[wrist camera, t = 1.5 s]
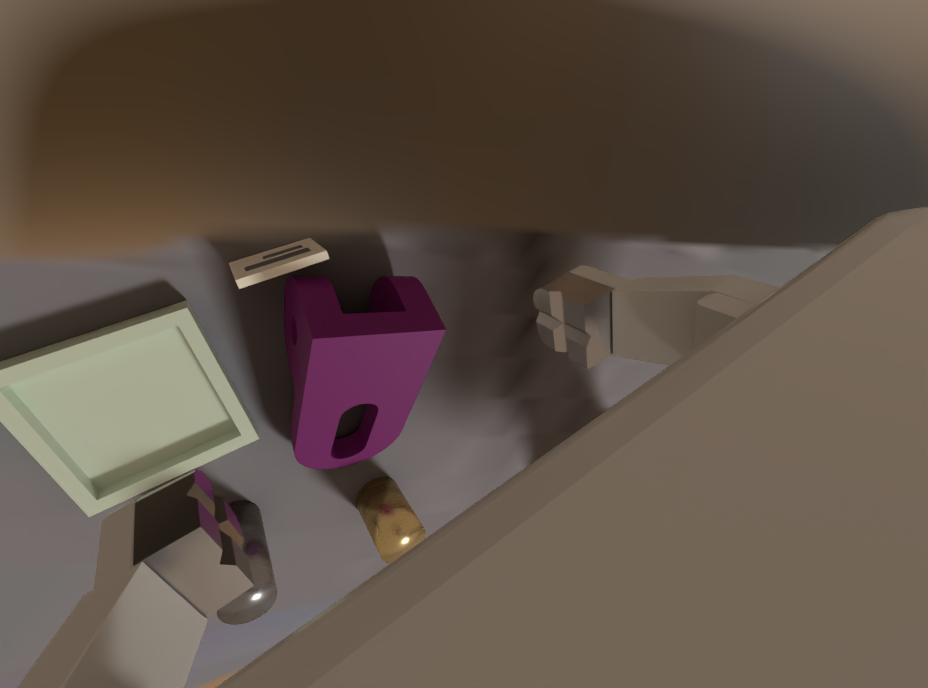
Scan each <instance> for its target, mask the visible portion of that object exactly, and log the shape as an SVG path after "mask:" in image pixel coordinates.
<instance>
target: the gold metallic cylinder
mask: <svg viewBox="0 0 928 688" xmlns="http://www.w3.org/2000/svg"><path fill="white" fill-rule="evenodd" d="M356 505H357V508H358V510H359V512H360V514H361V516H362V518H363V520H364V523H365V525H366V527H367V529H368V531H369V533H370V535H371V537H372V539H373V541H374V543H375V546H376V548H377V550H378V552H379V554H380V556H381V558H382V559H383V560H384V561H385V562H387V563H392V562H393V561H395V560H396V559H398V558H399V557H401V556H402V555H403V554H405V553H406V552H408V551H409V550H410V549H412V548H413V547H415V546H416V545H417V544H419V543H420V542H422V541H423V540H424V539H425V535H426V532H425V529H424V527H423V525H422V524H421V522H420V521H419V519H418V517H417V516H416V514H415V513H414V511H413V509H412V508H411V506H410V505H409V503H408V501H407V500H406V498H405V497H404V495H403V493H402V492H401V490H400V489H399V487H398V485H397V484H396V482H395V481H394V480H392V479H390V478H385V477H383V478H377V479H375V480H372V481H371V482H369V483H368V484H366V485H365V486H364V487H363V488H362V489H361V490H360V492H359V494H358V496H357V499H356Z"/></svg>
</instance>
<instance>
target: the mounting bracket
mask: <svg viewBox="0 0 928 688" xmlns="http://www.w3.org/2000/svg"><path fill="white" fill-rule="evenodd" d="M284 325H285V340H286V348H287V354H288V359H289V364H290V368H291V372H292V377H293V381H294V386H295V398H294V405H293V412H292V419H291V427H290V436H291V440H292V445H293V449H294V454H295V458H296V460H297V461H298V462H299V463H300V464H302V465H303V466H306V467H309V468H314V469H333V468H340V467H344V466H348V465H352V464H355V463H358V462H361V461H363V460H366V459H368V458H370V457H372V456H374V455H376V454H378V453H379V452H381V451H382V450H384V449H385V448H387V447H388V446H389V445H390V444H392V443H393V442H394V441H395V440H396V438H397V437H398V436H399V435H400V433H401V431H402V429H403V427H404V424H405V422H406V420H407V418H408V415H409V413H410V411H411V409H412V406H413V404H414V402H415V399H416V397H417V395H418V393H419V390H420V388H421V386H422V384H423V381H424V379H425V377H426V375H427V372H428V370H429V368H430V365H431V363H432V361H433V359H434V356H435V354H436V352H437V350H438V347H439V345H440V343H441V341H442V338H443V336H444V334H445V332H446V328H445V326H444V324H443V323H442V321H441V319H440V317H439V315H438V313H437V311H436V309H435V307H434V305H433V304H432V302H431V300H430V298H429V296H428V294H427V292H426V290H425V288H424V287H423V285H422V284H421V282H420V281H419V280H418V279H417V278H415V277H412V276H382V277H380V278H378V279H377V281H376V282H375V284H374V286H373V288H372V291H371V295H370V310H369V313H354V314H343V313H342V310H341V307H340V304H339V301H338V299H337V296H336V293H335V290H334V288H333V285H332V283H331V281H330V280H329V279H328V278H327V277H325V276H290V277H289V278H288V279H287V282H286V286H285V293H284ZM360 404H367V407H366V410H365V413H364V416H363V419H362V422H361V425H360V428H359V429H358V430H357V431H356V432H355V433H354V434H352V435H350V436H348V437H346V438H342V439H335V435H336V431H337V427H338V423H339V420H340V417H341V415H342V414H343V413H344V412H345V411H346V410H348V409H350V408H351V407H354V406H356V405H360Z"/></svg>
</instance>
